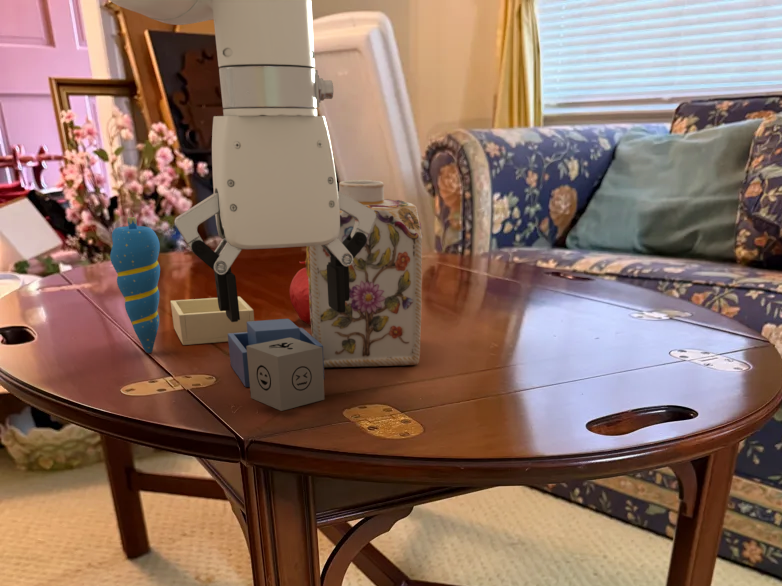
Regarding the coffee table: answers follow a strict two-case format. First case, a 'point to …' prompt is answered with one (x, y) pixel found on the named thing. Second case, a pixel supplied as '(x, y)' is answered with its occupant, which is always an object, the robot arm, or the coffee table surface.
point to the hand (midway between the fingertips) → (286, 314)
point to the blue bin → (240, 352)
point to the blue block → (271, 330)
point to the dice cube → (286, 373)
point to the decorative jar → (372, 287)
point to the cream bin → (207, 320)
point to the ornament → (138, 277)
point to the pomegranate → (301, 294)
